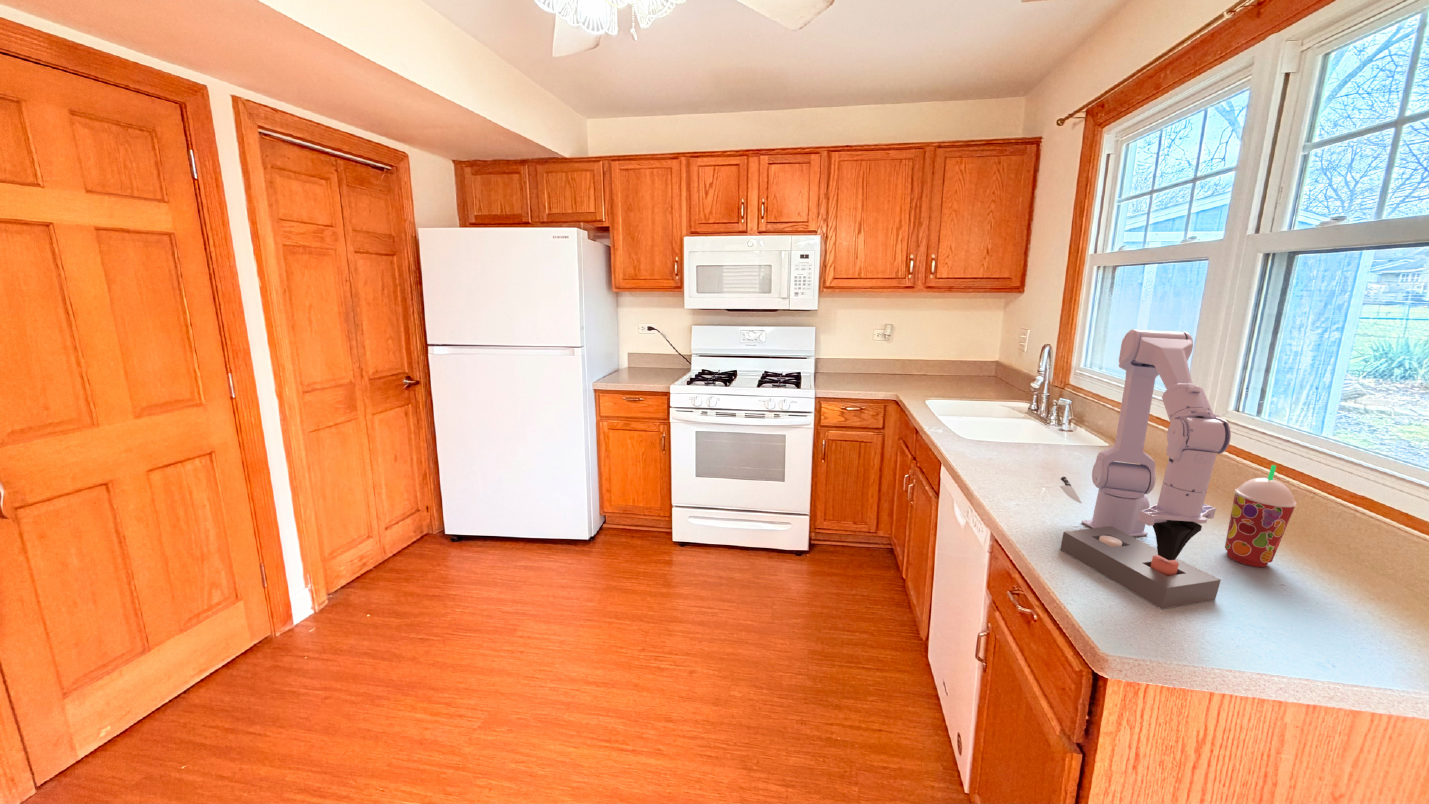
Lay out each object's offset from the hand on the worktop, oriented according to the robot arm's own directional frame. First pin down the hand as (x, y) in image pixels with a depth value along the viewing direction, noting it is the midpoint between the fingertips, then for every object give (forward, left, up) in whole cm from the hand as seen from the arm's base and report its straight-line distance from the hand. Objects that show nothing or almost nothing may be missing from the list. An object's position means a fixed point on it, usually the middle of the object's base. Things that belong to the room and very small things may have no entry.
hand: (1166, 557), depth 94 cm
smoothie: (-28, -4, -6) cm, 29 cm away
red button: (0, 0, -4) cm, 4 cm away
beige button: (0, -10, -5) cm, 11 cm away
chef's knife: (-23, -40, -7) cm, 47 cm away
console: (0, -5, -6) cm, 8 cm away
